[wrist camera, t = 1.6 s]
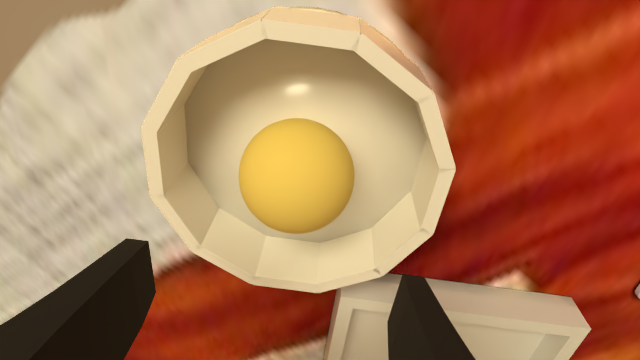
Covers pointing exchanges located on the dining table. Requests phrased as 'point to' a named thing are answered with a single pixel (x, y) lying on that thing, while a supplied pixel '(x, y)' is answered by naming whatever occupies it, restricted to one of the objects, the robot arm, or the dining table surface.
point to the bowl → (308, 103)
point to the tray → (460, 321)
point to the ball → (296, 176)
